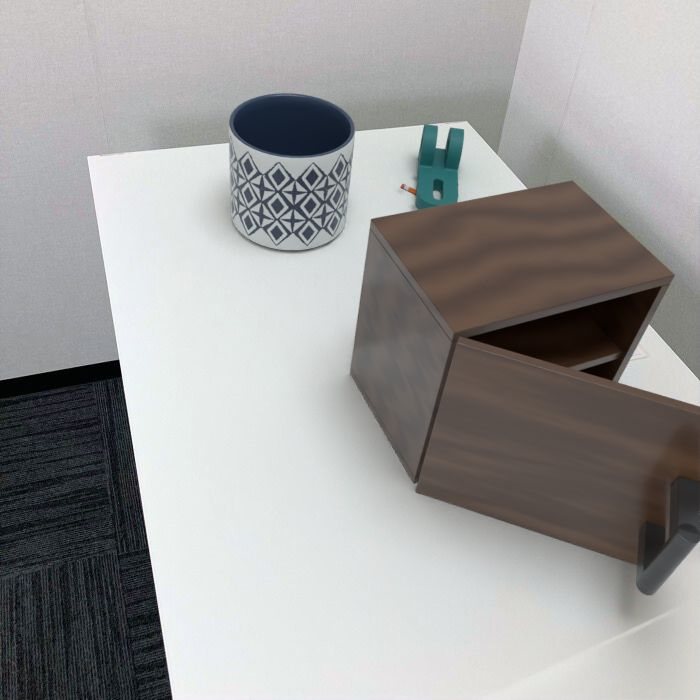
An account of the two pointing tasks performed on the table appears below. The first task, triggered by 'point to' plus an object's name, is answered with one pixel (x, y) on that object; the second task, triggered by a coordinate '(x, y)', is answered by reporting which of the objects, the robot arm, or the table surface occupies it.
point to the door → (568, 457)
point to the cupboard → (495, 298)
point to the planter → (290, 170)
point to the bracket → (438, 167)
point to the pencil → (408, 189)
